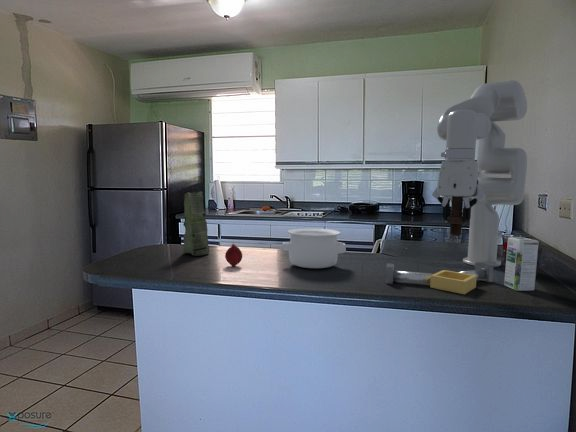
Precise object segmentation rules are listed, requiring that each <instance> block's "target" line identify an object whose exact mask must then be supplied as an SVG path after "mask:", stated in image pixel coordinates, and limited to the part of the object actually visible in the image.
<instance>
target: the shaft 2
mask: <svg viewBox="0 0 576 432" xmlns="http://www.w3.org/2000/svg"><path fill="white" fill-rule="evenodd" d="M494 268H495V267H494V266H493V265H489V264H485V263H480V262H478V263H475V265H474V270H467V271H459V273H465V274H471V275H476V276H477V278H476V281H482V282H486V283H493V282H494Z"/></svg>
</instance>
